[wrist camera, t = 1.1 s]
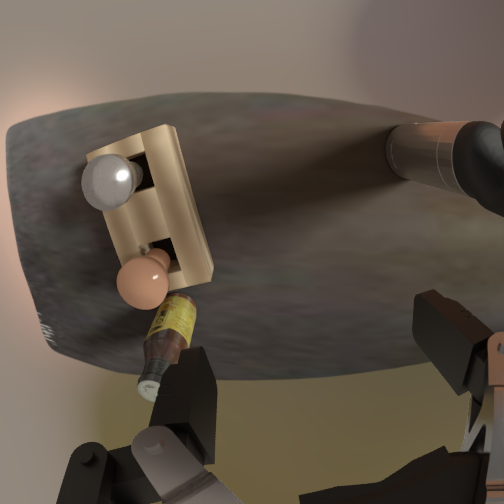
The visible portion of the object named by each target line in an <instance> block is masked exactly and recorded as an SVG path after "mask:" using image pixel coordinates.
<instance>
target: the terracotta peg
mask: <svg viewBox="0 0 504 504" xmlns="http://www.w3.org/2000/svg"><path fill="white" fill-rule="evenodd" d="M169 267H170V257H169V255H168V254H167V253H166V252H165V251H164V250H162V249H158V248H155V249H151V250H150V251H149V252H148V253H147V254H146V255H145V256H143V255H142V256H136V257H133V258H131V259H130V260H128V261H127V262H126V264H125V265H124V266H123V267H122V268H121V269H120V271H119V273H118V276H117V288H118V291H119V293H120V295H121V296H122V298H123V299H124V300H125V301H126V302H127V303H128V304H130V305H131V306H133V307H135V308H138V309H143V310H149V309H153V308H156V307H157V306H159V305H160V304H161V303H162V302H163V300H164V299H165V296H166V294H167V292H168V290H169V286H170V279H169V275H168V272H167V271H168V269H169Z"/></svg>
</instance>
